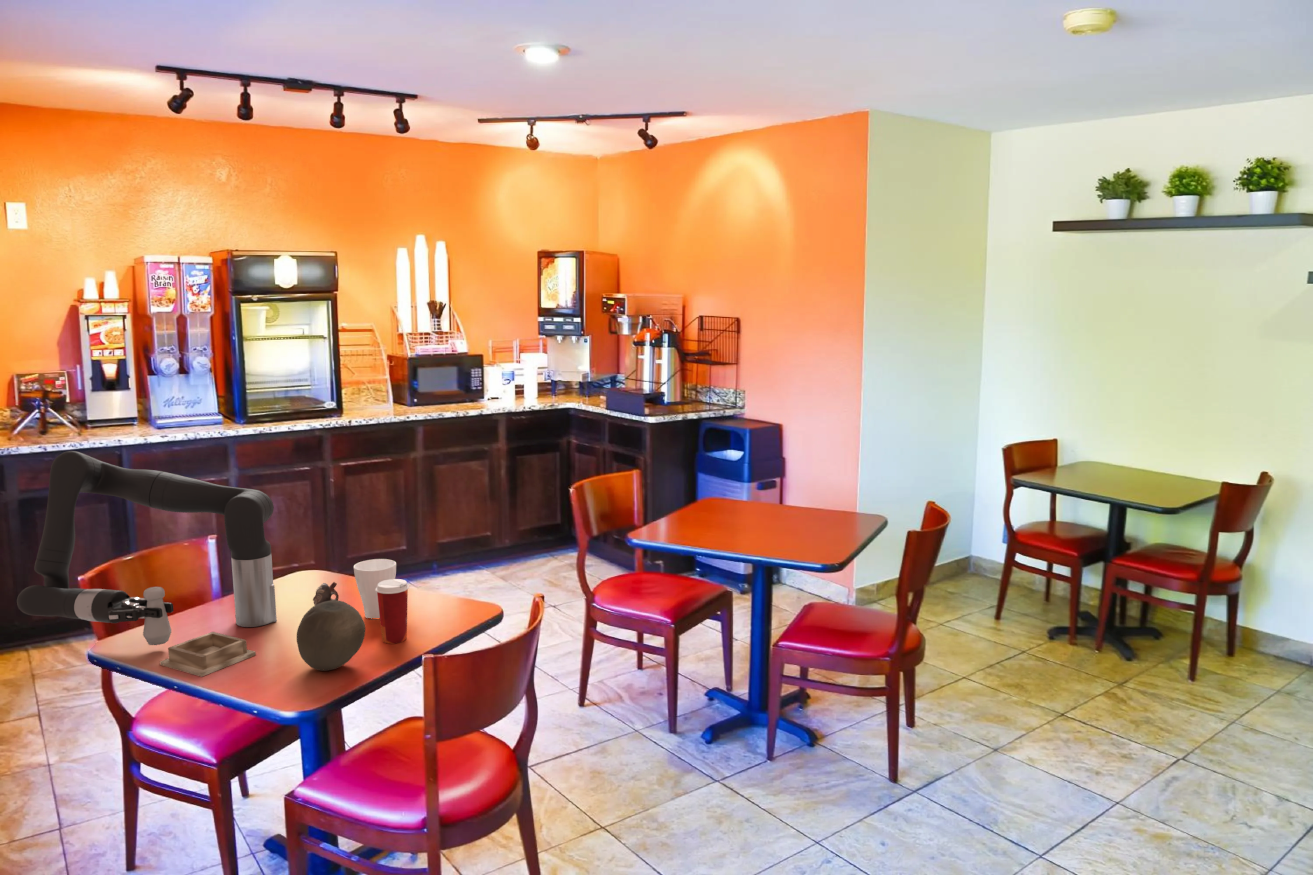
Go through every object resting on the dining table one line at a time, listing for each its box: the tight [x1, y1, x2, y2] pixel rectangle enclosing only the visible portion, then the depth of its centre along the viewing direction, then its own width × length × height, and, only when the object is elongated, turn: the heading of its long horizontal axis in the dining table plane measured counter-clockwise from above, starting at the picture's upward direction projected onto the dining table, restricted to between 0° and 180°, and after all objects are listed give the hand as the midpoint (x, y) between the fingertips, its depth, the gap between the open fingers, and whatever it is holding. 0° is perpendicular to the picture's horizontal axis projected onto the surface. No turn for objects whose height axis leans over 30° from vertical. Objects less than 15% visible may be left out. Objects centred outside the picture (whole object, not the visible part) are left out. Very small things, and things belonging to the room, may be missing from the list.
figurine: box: [312, 581, 339, 606], centre depth 231 cm, size 7×7×12 cm
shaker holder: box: [159, 631, 257, 678], centre depth 213 cm, size 14×14×4 cm
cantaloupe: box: [296, 600, 366, 672], centre depth 208 cm, size 14×14×15 cm
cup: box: [353, 558, 397, 620], centre depth 242 cm, size 10×10×14 cm
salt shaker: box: [142, 586, 172, 646], centre depth 218 cm, size 6×6×13 cm
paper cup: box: [376, 578, 410, 644], centre depth 225 cm, size 8×8×14 cm
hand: (166, 610), depth 217 cm, fingers closed on salt shaker, 3 cm apart
